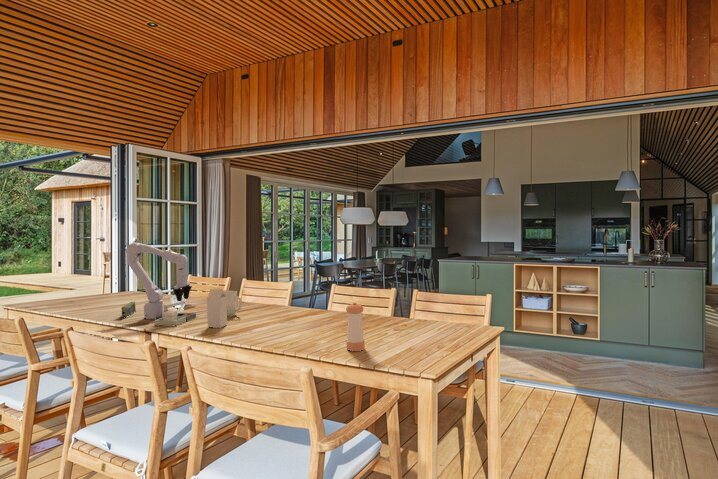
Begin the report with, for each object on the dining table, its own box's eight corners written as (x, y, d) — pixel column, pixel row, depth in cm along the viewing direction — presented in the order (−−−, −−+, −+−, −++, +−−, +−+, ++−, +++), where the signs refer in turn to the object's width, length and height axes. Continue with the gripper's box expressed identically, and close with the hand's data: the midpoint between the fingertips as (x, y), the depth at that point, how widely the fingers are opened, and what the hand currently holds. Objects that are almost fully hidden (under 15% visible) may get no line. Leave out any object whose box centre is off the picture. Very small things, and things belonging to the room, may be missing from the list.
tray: (154, 326, 239) (154, 320, 239) (164, 321, 249) (164, 316, 249) (176, 326, 238) (176, 320, 238) (185, 322, 248) (185, 316, 248)
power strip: (155, 321, 251) (155, 315, 251) (165, 317, 261) (165, 311, 261) (187, 321, 249) (187, 315, 249) (196, 317, 259) (195, 312, 259)
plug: (162, 324, 241) (162, 312, 241) (168, 321, 247) (167, 310, 247) (172, 324, 240) (172, 312, 240) (178, 321, 246) (178, 310, 246)
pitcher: (235, 318, 255) (234, 293, 254) (211, 315, 263) (210, 291, 263) (248, 314, 265) (248, 290, 264) (225, 312, 273) (224, 289, 273)
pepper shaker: (364, 346, 192) (363, 300, 191) (365, 351, 184) (364, 303, 183) (346, 347, 191) (345, 301, 191) (346, 352, 184) (345, 304, 183)
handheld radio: (136, 312, 281) (124, 320, 256) (131, 312, 280) (118, 321, 256) (135, 301, 281) (123, 308, 256) (130, 301, 280) (117, 309, 256)
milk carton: (220, 328, 231) (219, 290, 231) (207, 327, 233) (206, 290, 232) (227, 325, 238) (226, 288, 238) (214, 324, 240) (213, 288, 239)
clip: (165, 314, 255) (165, 305, 254) (163, 314, 255) (162, 305, 255) (186, 309, 269) (185, 301, 269) (183, 309, 270) (183, 300, 270)
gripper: (182, 277, 255) (183, 302, 255) (194, 274, 269) (195, 297, 270) (170, 277, 256) (171, 302, 256) (183, 274, 270) (184, 297, 270)
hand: (182, 299), depth 263 cm, fingers open, 7 cm apart
